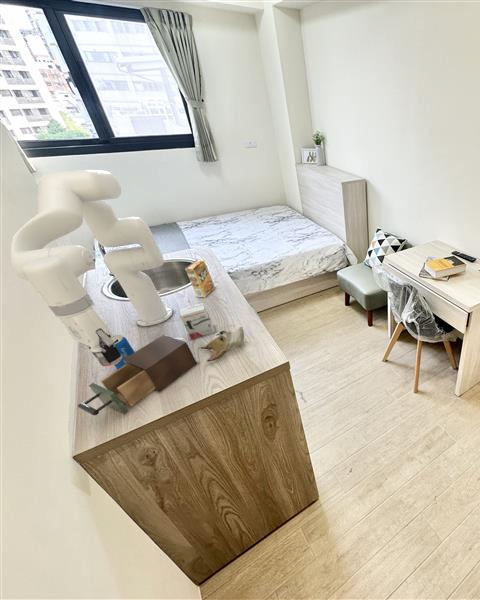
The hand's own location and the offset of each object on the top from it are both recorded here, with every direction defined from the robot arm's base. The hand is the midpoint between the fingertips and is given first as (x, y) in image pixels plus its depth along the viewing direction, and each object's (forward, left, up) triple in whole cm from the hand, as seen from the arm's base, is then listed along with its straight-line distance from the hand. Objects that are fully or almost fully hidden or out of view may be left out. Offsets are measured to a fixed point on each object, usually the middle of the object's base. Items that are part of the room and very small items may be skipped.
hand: (108, 356), depth 90 cm
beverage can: (-16, +8, -17) cm, 25 cm away
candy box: (-33, +54, -17) cm, 65 cm away
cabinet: (0, +11, -17) cm, 20 cm away
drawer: (0, -2, -16) cm, 16 cm away
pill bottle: (0, 0, -2) cm, 2 cm away
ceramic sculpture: (+9, +27, -17) cm, 33 cm away
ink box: (-8, +31, -17) cm, 36 cm away
